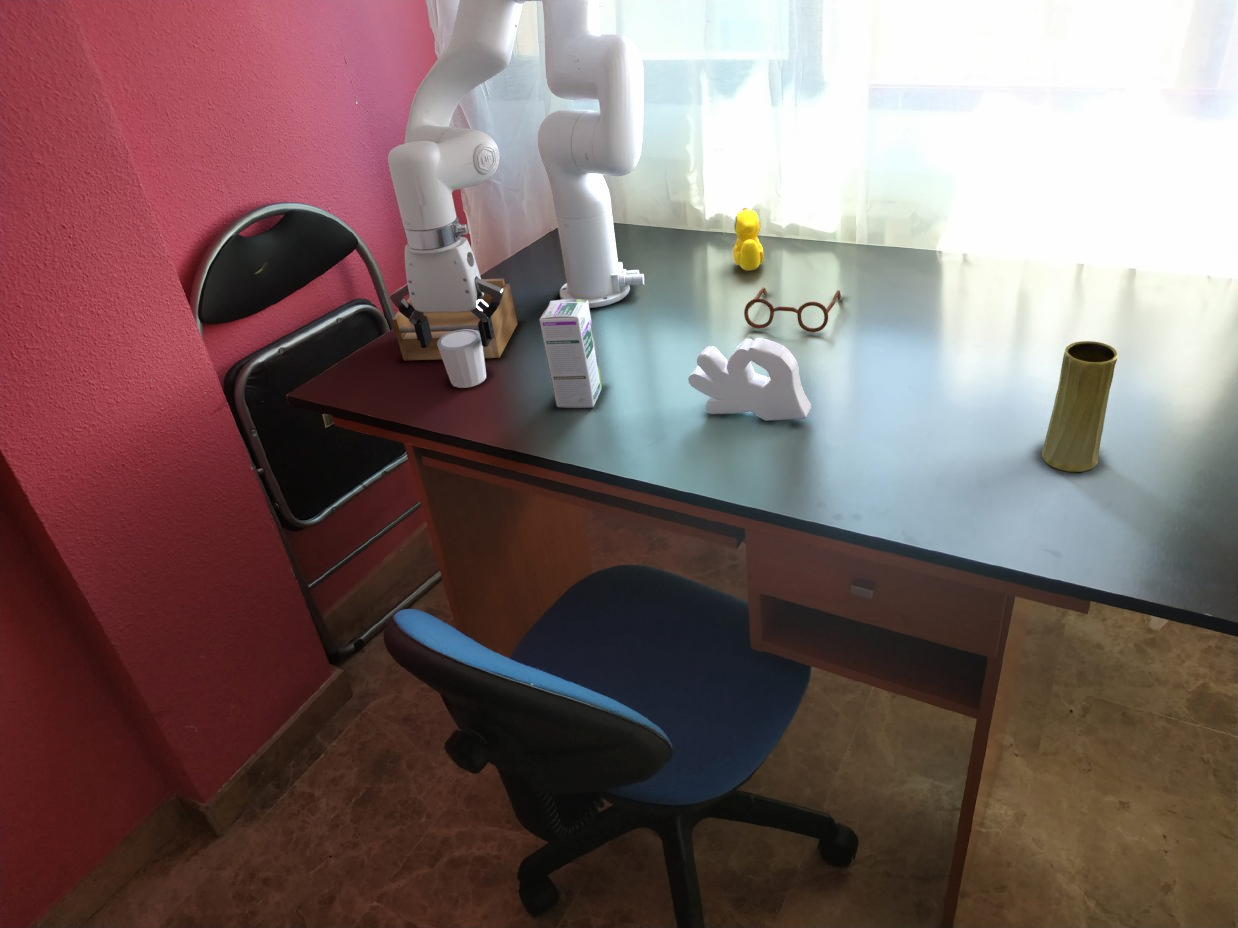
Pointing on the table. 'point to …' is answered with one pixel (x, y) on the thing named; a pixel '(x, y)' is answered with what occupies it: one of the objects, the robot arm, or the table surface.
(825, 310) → the glasses
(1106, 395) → the vase
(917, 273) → the table surface
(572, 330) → the syrup box
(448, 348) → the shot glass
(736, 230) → the duckling
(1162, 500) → the table surface
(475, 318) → the spice rack
